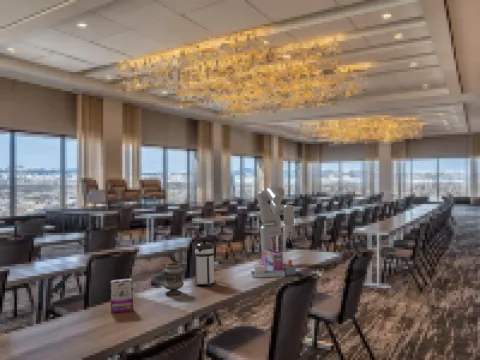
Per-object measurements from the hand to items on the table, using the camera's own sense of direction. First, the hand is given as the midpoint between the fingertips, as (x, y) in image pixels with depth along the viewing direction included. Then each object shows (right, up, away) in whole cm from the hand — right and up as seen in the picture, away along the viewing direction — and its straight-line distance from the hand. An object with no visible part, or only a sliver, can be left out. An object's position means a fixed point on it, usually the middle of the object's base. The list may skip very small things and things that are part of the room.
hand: (289, 247), depth 286 cm
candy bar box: (-98, -20, -78) cm, 127 cm away
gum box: (-11, -20, +17) cm, 28 cm away
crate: (-22, -20, -4) cm, 29 cm away
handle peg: (0, -19, 0) cm, 19 cm away
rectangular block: (-16, -20, -4) cm, 25 cm away
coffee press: (-59, -20, -24) cm, 67 cm away
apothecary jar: (-76, -20, -46) cm, 91 cm away
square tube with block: (0, -19, +2) cm, 19 cm away
